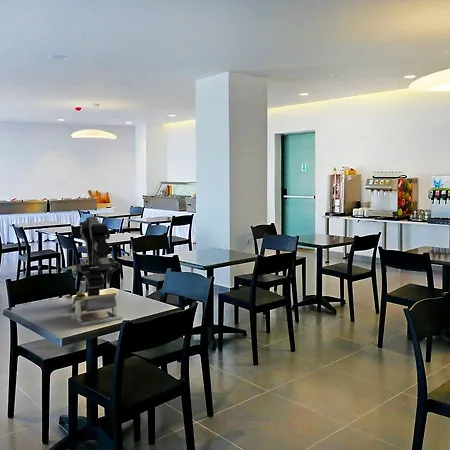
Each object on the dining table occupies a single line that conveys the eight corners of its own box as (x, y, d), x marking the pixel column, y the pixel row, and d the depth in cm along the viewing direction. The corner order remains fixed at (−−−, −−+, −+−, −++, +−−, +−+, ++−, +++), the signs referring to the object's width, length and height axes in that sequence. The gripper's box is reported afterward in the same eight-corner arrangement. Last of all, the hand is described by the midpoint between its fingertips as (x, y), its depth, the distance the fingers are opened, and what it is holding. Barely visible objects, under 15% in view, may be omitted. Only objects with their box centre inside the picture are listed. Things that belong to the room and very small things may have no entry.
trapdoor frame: (71, 317, 217) (71, 298, 216) (110, 311, 228) (110, 293, 227) (82, 325, 207) (82, 305, 206) (122, 318, 218) (123, 299, 217)
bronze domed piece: (72, 290, 233) (72, 307, 234) (71, 294, 226) (72, 311, 227) (89, 289, 235) (89, 306, 236) (89, 293, 228) (89, 310, 229)
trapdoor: (74, 317, 220) (71, 305, 221) (104, 313, 228) (102, 300, 230) (87, 310, 208) (84, 297, 209) (118, 305, 216) (116, 292, 217)
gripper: (85, 255, 218) (86, 290, 220) (125, 252, 230) (125, 285, 231) (76, 251, 227) (76, 285, 229) (114, 248, 238) (114, 281, 240)
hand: (98, 284), depth 232 cm, fingers open, 9 cm apart
